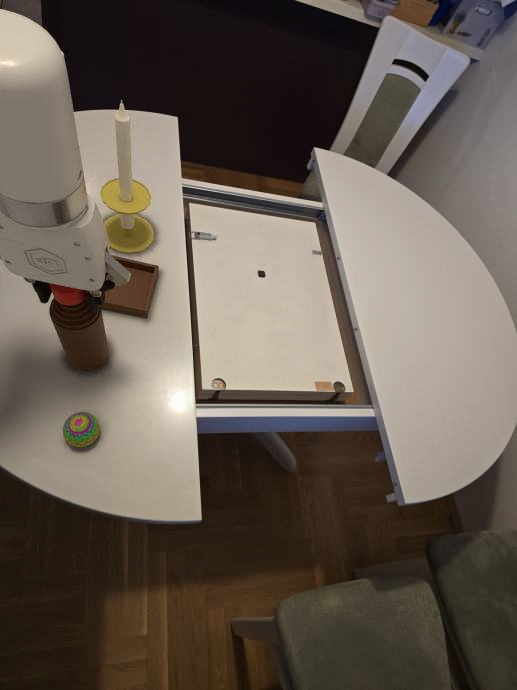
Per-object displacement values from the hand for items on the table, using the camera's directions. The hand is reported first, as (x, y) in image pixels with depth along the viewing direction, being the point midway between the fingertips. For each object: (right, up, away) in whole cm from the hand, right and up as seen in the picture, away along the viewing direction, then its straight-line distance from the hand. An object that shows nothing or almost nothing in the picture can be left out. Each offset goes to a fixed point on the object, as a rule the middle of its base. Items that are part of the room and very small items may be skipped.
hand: (72, 298), depth 50 cm
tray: (-2, +5, +21) cm, 22 cm away
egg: (-3, -19, +9) cm, 22 cm away
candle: (-2, +16, +28) cm, 32 cm away
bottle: (-4, -7, +14) cm, 17 cm away
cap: (0, +1, -1) cm, 1 cm away
